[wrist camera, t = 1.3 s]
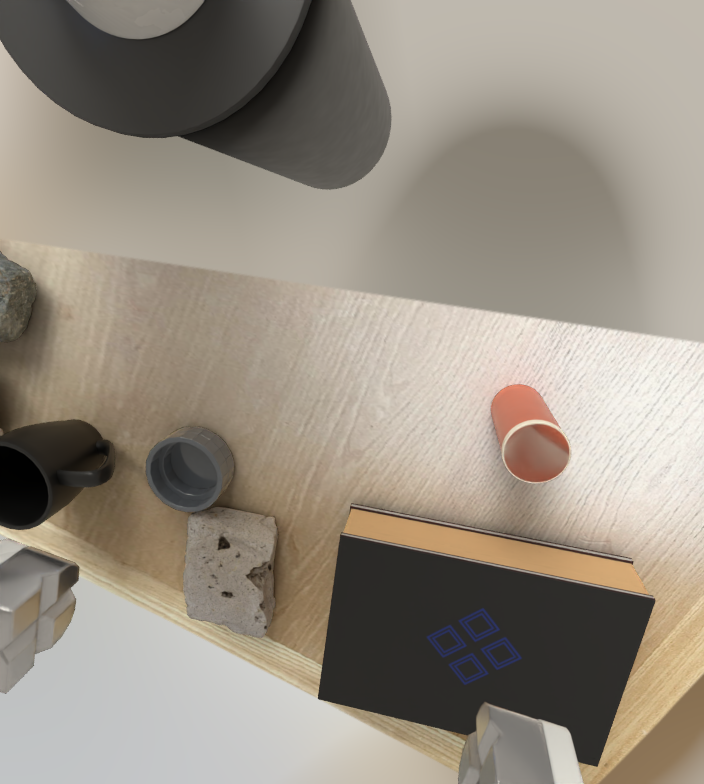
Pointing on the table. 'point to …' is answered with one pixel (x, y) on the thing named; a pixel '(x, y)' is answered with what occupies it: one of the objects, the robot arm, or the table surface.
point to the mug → (49, 469)
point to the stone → (231, 569)
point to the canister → (529, 435)
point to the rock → (14, 299)
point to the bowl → (190, 469)
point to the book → (480, 626)
